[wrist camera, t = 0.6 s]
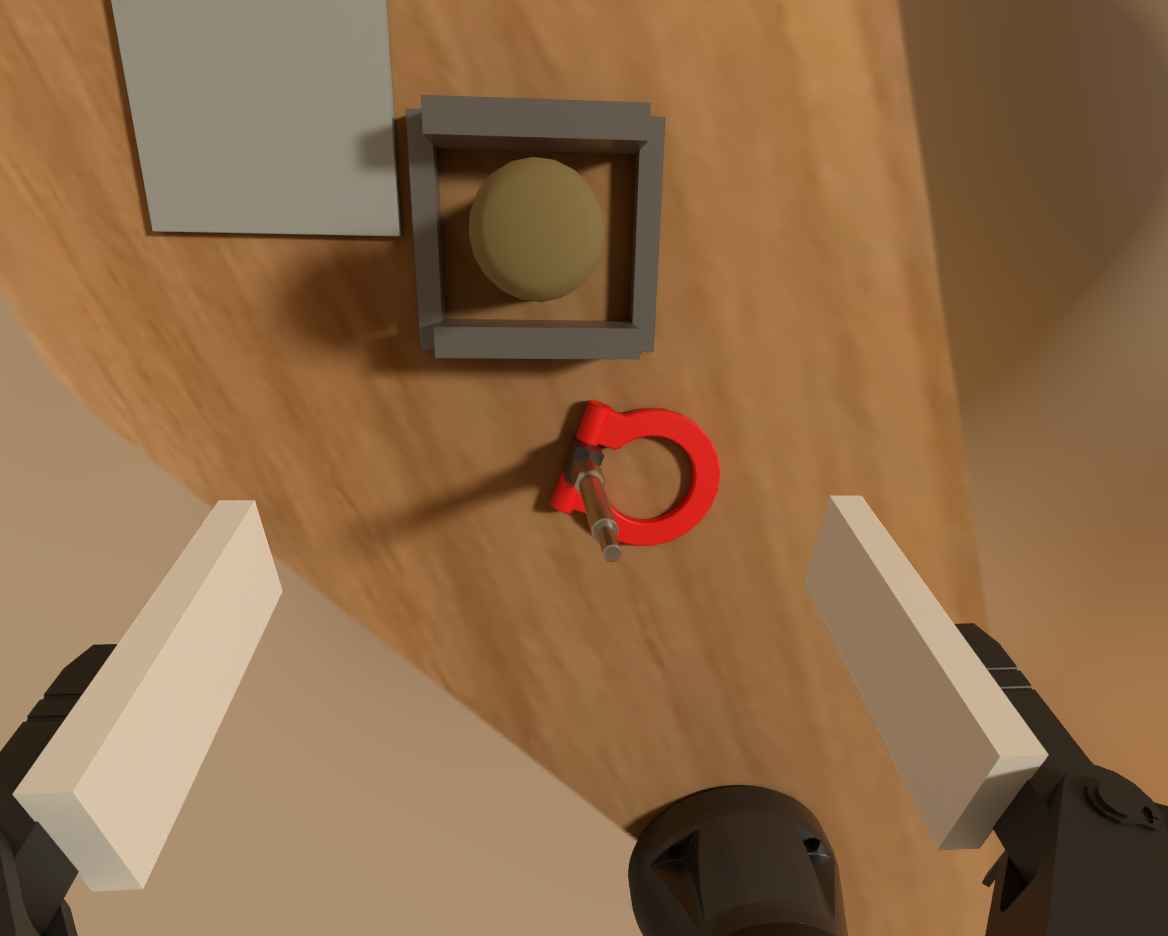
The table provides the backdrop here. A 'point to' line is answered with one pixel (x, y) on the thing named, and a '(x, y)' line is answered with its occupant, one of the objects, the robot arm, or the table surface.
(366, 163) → the mat
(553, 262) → the cork
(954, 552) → the table surface
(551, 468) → the table surface
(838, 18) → the table surface
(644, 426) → the tow hook
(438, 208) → the grey square frame
